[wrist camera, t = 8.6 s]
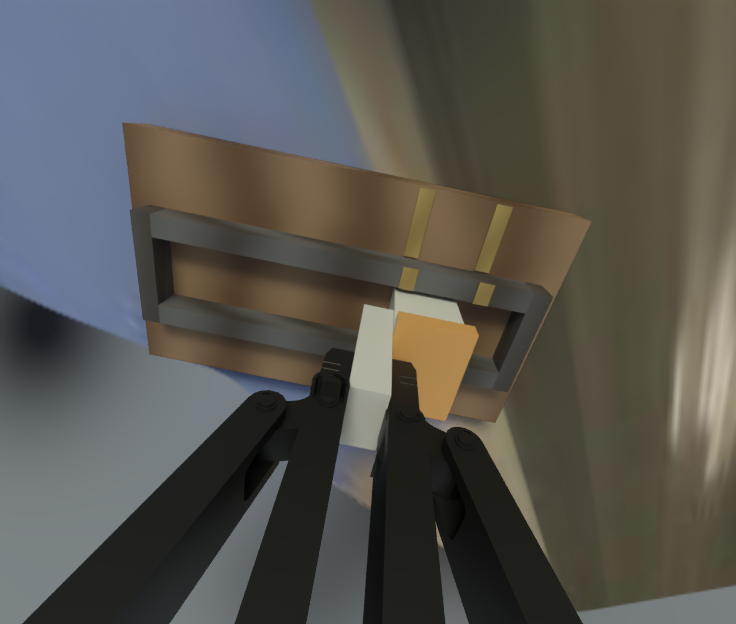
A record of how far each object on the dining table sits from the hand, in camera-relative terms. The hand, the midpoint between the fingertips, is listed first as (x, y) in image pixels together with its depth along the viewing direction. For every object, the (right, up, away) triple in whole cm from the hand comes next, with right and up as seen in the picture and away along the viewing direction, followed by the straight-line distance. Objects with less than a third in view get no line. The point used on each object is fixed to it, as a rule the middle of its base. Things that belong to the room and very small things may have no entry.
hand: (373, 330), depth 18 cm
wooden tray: (-2, +3, +4) cm, 5 cm away
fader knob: (+3, +1, +2) cm, 4 cm away
